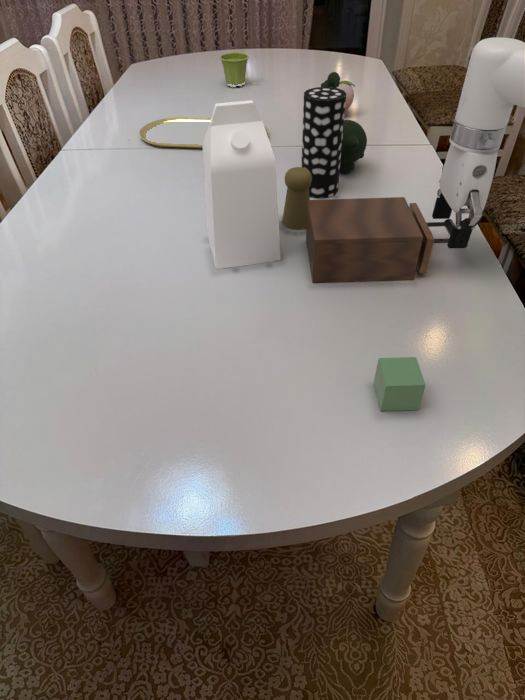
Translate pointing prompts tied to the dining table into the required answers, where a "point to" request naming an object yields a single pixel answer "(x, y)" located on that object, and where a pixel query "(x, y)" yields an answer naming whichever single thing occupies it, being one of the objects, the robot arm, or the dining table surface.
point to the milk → (240, 187)
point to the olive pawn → (296, 198)
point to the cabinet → (362, 240)
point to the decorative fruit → (347, 92)
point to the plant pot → (234, 67)
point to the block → (398, 384)
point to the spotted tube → (323, 138)
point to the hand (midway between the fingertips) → (448, 232)
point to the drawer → (428, 236)
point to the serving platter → (170, 120)
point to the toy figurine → (348, 134)
